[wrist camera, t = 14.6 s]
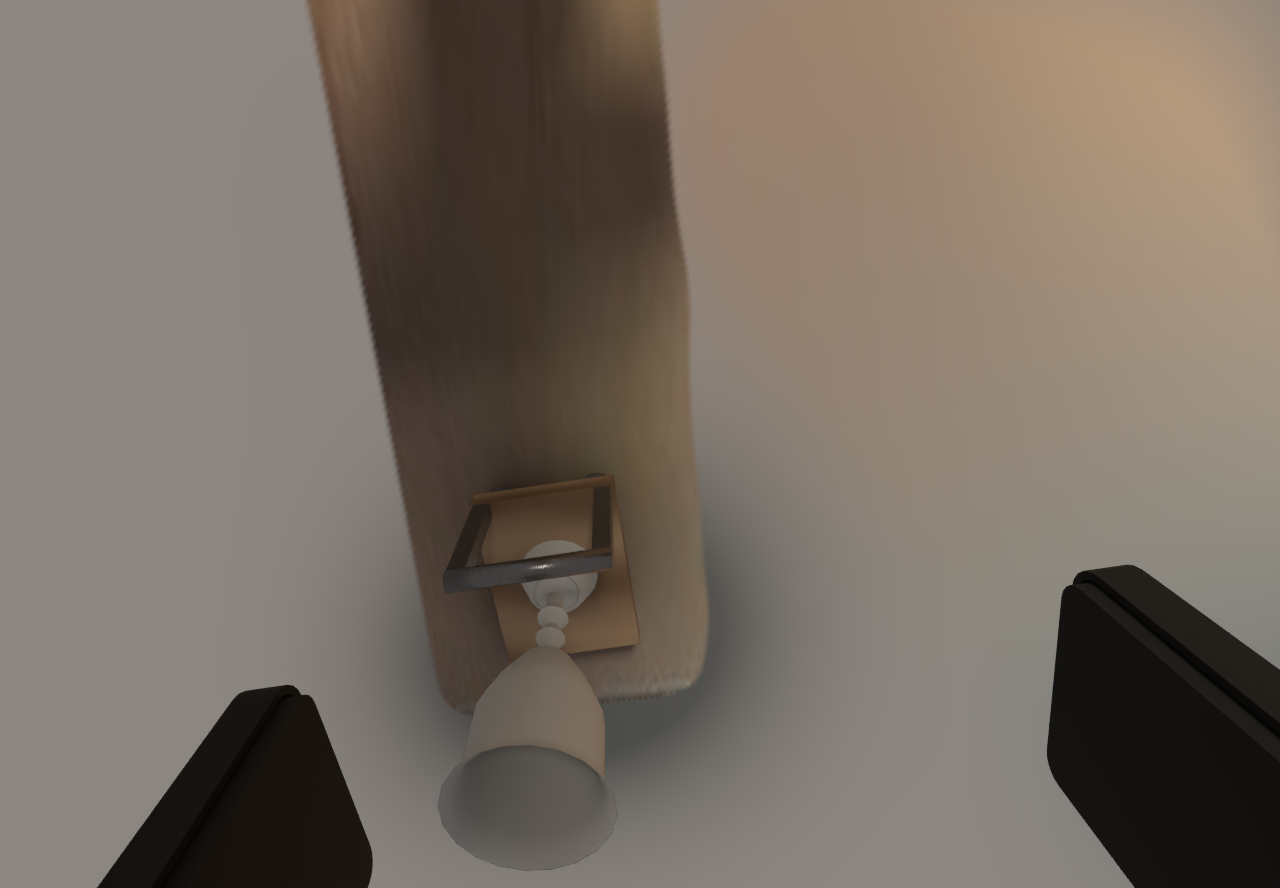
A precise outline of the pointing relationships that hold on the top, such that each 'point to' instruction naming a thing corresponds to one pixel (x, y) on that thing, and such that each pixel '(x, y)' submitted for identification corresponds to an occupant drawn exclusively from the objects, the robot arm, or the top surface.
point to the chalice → (535, 749)
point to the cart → (549, 560)
